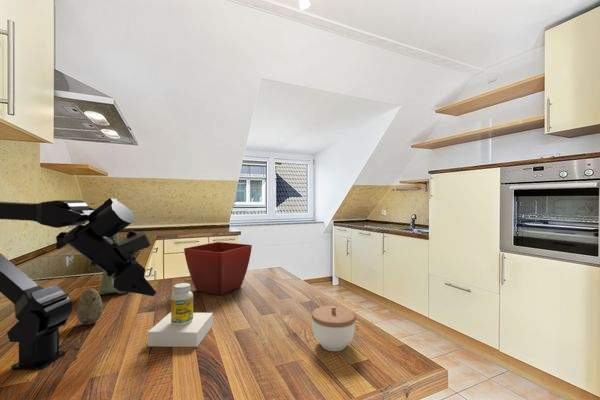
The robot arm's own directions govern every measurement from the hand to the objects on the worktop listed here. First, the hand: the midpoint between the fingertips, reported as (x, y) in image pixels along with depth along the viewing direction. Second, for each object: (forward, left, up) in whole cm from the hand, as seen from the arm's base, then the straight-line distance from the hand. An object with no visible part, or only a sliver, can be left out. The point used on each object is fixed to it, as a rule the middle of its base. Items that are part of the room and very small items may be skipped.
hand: (150, 288), depth 71 cm
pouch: (+38, +34, -14) cm, 53 cm away
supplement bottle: (+5, -6, -10) cm, 13 cm away
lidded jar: (+1, -45, -14) cm, 47 cm away
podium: (+5, -6, -13) cm, 16 cm away
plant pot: (+44, -4, -14) cm, 46 cm away
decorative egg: (+11, +23, -14) cm, 29 cm away
